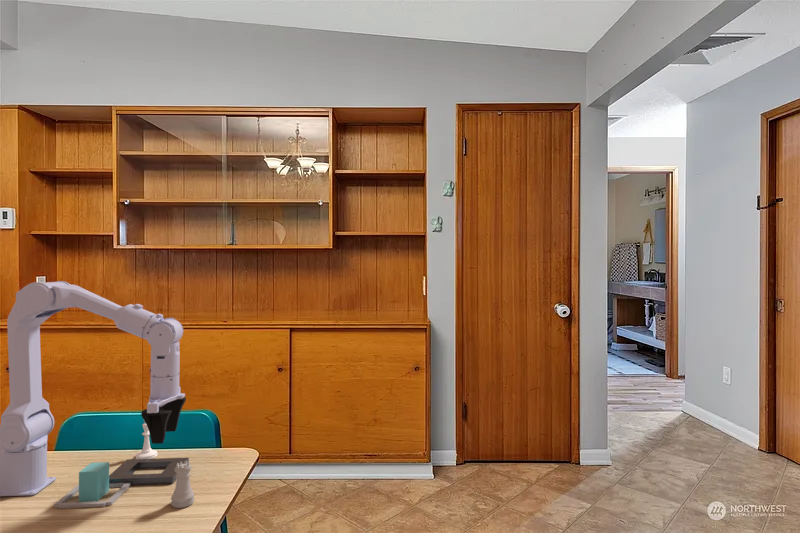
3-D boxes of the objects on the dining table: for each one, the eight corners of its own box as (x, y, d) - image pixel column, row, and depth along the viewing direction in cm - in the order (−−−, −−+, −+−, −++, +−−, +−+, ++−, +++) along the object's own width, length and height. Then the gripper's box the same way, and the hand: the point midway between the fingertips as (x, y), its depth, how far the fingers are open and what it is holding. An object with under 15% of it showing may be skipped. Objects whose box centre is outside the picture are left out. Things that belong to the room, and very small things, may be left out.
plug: (78, 502, 99) (78, 472, 99) (90, 491, 104) (91, 462, 104) (97, 501, 99) (98, 471, 99) (109, 490, 104) (109, 462, 104)
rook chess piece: (185, 510, 96) (186, 469, 96) (165, 507, 97) (165, 466, 97) (199, 499, 100) (199, 460, 100) (179, 497, 101) (180, 458, 101)
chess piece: (130, 459, 121) (131, 418, 121) (144, 451, 126) (144, 412, 126) (148, 460, 120) (149, 419, 120) (161, 453, 125) (162, 413, 125)
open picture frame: (52, 508, 96) (52, 505, 96) (79, 486, 106) (79, 483, 106) (110, 506, 97) (110, 503, 97) (131, 484, 107) (131, 481, 107)
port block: (104, 486, 106) (104, 479, 106) (127, 465, 117) (127, 459, 117) (172, 483, 108) (172, 476, 108) (188, 463, 118) (188, 457, 118)
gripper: (172, 381, 101) (172, 448, 101) (194, 367, 115) (193, 425, 115) (136, 382, 100) (135, 449, 100) (162, 368, 115) (162, 426, 115)
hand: (164, 436), depth 108 cm, fingers open, 7 cm apart
